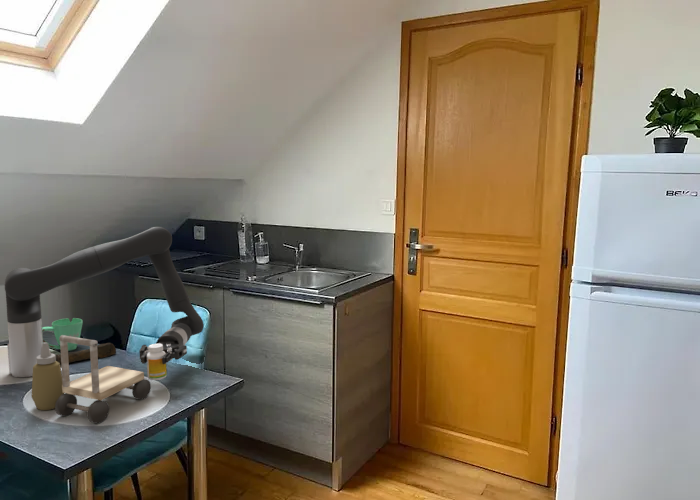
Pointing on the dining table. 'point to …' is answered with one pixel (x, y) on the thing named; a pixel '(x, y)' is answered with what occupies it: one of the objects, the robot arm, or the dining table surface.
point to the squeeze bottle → (46, 380)
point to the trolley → (96, 383)
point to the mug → (65, 331)
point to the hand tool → (102, 351)
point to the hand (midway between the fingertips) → (153, 360)
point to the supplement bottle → (156, 362)
